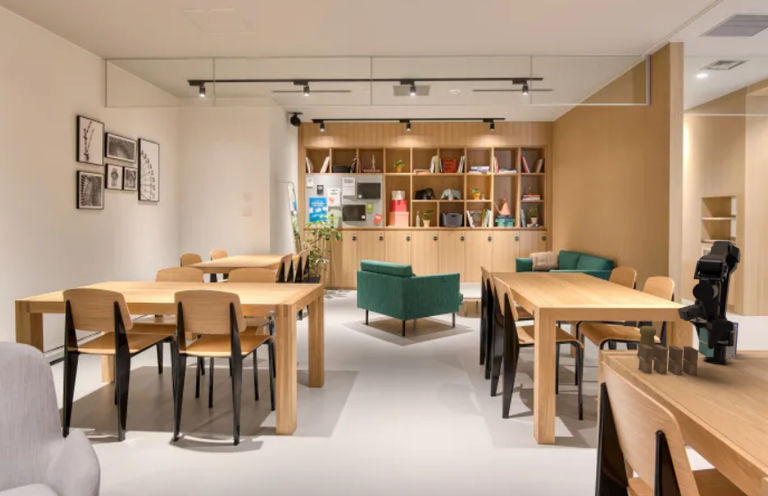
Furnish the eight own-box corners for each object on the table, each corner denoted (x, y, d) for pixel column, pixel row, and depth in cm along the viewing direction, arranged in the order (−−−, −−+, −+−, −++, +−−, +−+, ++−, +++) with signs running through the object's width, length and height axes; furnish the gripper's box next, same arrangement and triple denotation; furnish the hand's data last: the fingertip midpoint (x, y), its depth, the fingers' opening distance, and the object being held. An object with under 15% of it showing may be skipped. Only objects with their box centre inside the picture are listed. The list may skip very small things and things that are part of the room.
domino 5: (705, 352, 168) (706, 327, 167) (713, 356, 163) (715, 331, 162) (698, 352, 168) (699, 327, 167) (706, 356, 163) (707, 331, 162)
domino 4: (689, 370, 169) (690, 346, 168) (696, 375, 164) (698, 350, 163) (682, 370, 169) (683, 346, 168) (689, 375, 164) (691, 350, 163)
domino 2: (659, 369, 169) (661, 345, 169) (666, 374, 164) (668, 349, 164) (653, 369, 170) (654, 345, 169) (659, 374, 165) (661, 349, 164)
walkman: (727, 352, 191) (729, 320, 190) (736, 354, 190) (738, 321, 189) (724, 357, 185) (726, 324, 184) (733, 358, 184) (736, 325, 183)
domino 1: (645, 368, 170) (646, 344, 169) (651, 373, 165) (653, 348, 164) (638, 368, 170) (639, 344, 169) (644, 373, 165) (646, 348, 164)
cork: (645, 360, 180) (646, 328, 179) (632, 355, 186) (634, 324, 185) (660, 359, 181) (661, 328, 180) (647, 354, 187) (649, 324, 186)
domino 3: (674, 370, 169) (675, 345, 168) (681, 375, 164) (683, 350, 163) (667, 369, 169) (669, 345, 169) (674, 374, 164) (676, 349, 164)
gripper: (669, 292, 174) (666, 338, 175) (697, 302, 155) (693, 353, 157) (704, 293, 173) (701, 339, 174) (736, 303, 154) (733, 355, 156)
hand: (706, 346), depth 165 cm, fingers closed on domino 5, 5 cm apart
